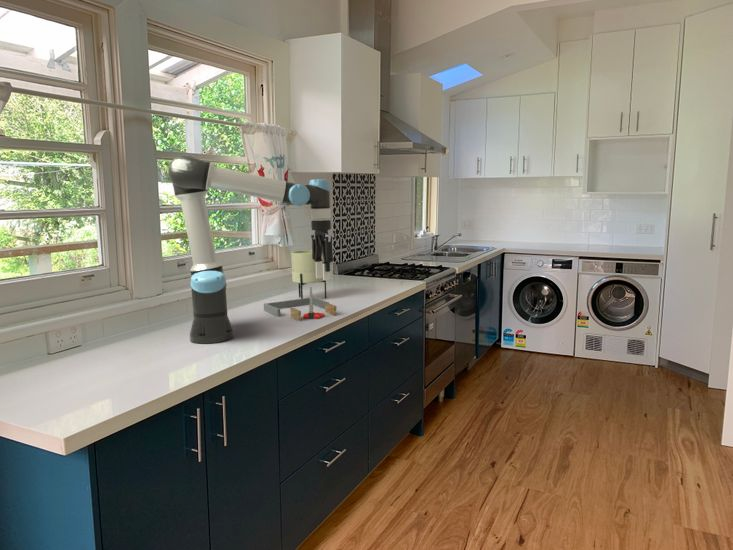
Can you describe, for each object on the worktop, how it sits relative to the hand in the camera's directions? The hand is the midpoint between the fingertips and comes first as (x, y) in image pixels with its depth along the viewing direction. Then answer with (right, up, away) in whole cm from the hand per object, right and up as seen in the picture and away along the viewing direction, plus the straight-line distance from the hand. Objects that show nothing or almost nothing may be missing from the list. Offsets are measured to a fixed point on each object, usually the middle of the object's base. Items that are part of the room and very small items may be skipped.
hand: (323, 278), depth 221 cm
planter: (-11, -10, +49) cm, 51 cm away
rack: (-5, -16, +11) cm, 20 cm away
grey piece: (-14, -14, +25) cm, 32 cm away
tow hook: (-5, -16, +11) cm, 20 cm away
